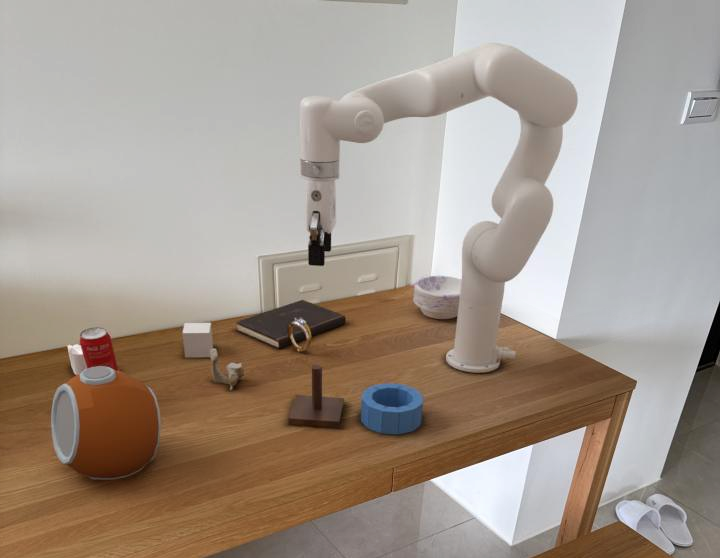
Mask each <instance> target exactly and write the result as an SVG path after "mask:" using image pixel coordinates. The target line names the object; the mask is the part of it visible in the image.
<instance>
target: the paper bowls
mask: <svg viewBox="0 0 720 558" xmlns="http://www.w3.org/2000/svg"><path fill="white" fill-rule="evenodd" d="M461 282H462V278H457V277H454V276H447V275H429V276H424V277H421V278H418V279H417V280H416V281H415V283H414V287H413V288H414V289H413V298H412V299H413V303H414V305H415V306H416V307H418V309H419V308H420V311H421V312H422V314H423V315H425V317H428V318H431V319H434V320H452V319H455V318H457V317H458V308H459V299H460V291H461Z"/></svg>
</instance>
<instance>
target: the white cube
mask: <svg viewBox="0 0 720 558" xmlns="http://www.w3.org/2000/svg"><path fill="white" fill-rule="evenodd" d="M181 334H182V342H183V351H184V358H185V359H186V358H188V359H189V358H210V351H211V350H212V349H213V348H214V342H213V341H214V340H213V330H212V322H184V324H183V328H182V333H181Z"/></svg>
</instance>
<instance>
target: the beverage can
mask: <svg viewBox="0 0 720 558" xmlns="http://www.w3.org/2000/svg"><path fill="white" fill-rule="evenodd" d="M79 345H81V349H82V352H83V356H84V360H85V364H86V368H87V369H88V368H91V367H97V366H104V367H110V368H112V369H113V370H116V371H119V368H118V363H117V359H116V355H115V350H114V345H113V342H112V337H111V336H110V334H109V333H108V331H107V329H106V328H104V327H101V326H99V327H98V326H97V327H96V326H95V327H90V328H85V329H84V330H82V331H81V332H80V334H79Z"/></svg>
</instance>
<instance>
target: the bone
mask: <svg viewBox="0 0 720 558" xmlns="http://www.w3.org/2000/svg"><path fill="white" fill-rule="evenodd" d="M218 355H219V354H218V350H217V348H214V347H213V349H212V350H211V351H210V357H209V358H210V361H211V362H210V364H211V376H212V380H213V382H214V383H218V384H219V383H220V384H227V385H230V388H229V390H230V391H233V389H234V386H235V385H236V384H237V383H238V381H240V379H242V378H243V377H245V375H246V374H245V372H244V369H245V366H244V365H243V364H242V362H240V363H235V362H230V363H229V364H227V365H226V366H225V374H226V375H224V374H223V373H222V372H221V371H220V369H219V364H218V361H219V356H218Z"/></svg>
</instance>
